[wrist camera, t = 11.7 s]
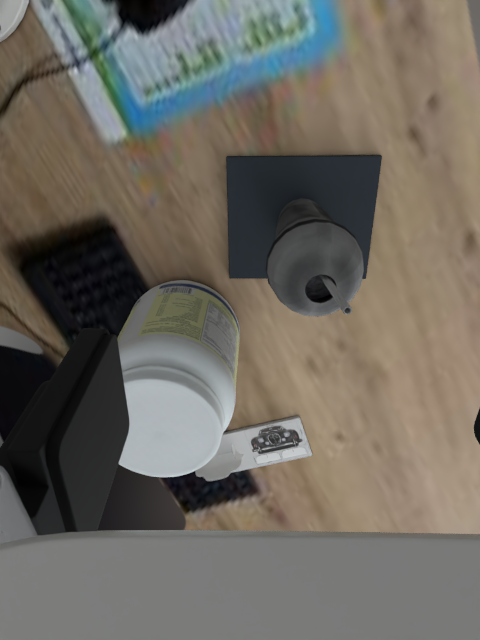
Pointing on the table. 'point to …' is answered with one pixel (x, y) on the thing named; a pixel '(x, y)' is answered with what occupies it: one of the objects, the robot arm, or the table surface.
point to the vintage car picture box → (257, 448)
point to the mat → (290, 184)
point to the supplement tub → (178, 377)
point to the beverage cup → (313, 261)
